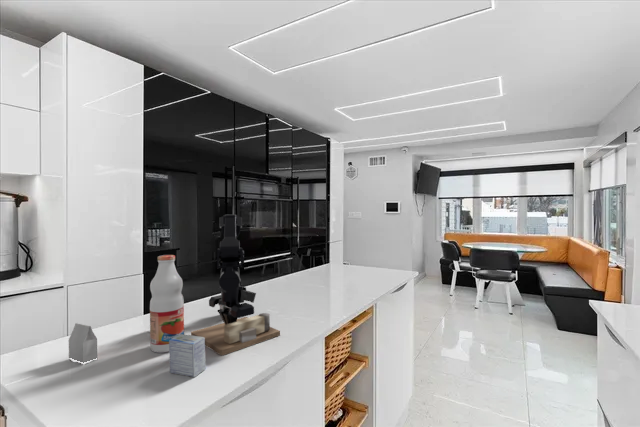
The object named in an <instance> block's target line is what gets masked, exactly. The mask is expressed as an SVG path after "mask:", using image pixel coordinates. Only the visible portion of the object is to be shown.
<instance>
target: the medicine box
mask: <svg viewBox="0 0 640 427" xmlns="http://www.w3.org/2000/svg"><path fill="white" fill-rule="evenodd" d="M168 354H169V373H170V374H176V375H180V376H187V377H192V378H196V377H197V376H198V375H200V374H201V373H202V372H204V371H205V370H206V346H205V338H204V337H199V336H192V335H191V334H185V333H184V334H181V335H178V336H176V337H174V338H172V339H171V340H169V352H168Z"/></svg>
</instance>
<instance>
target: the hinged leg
mask: <svg viewBox="0 0 640 427" xmlns="http://www.w3.org/2000/svg"><path fill="white" fill-rule="evenodd" d="M270 316H271V315H270V313H267V312H263V313H259V314H257V315H254V316H250V317H248V318H246V319H243V320H239V321H236V322H233V323H229V324H226V325H224V341H225V342H227V343H229V344H231V343H234V342H237V341H240V340H239V332H240V331H244V330H247V329H250V328H256V335H257V334H260V333H262V332H266V331H269V330H270V327H271V324H270V323H271V322H270Z"/></svg>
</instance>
